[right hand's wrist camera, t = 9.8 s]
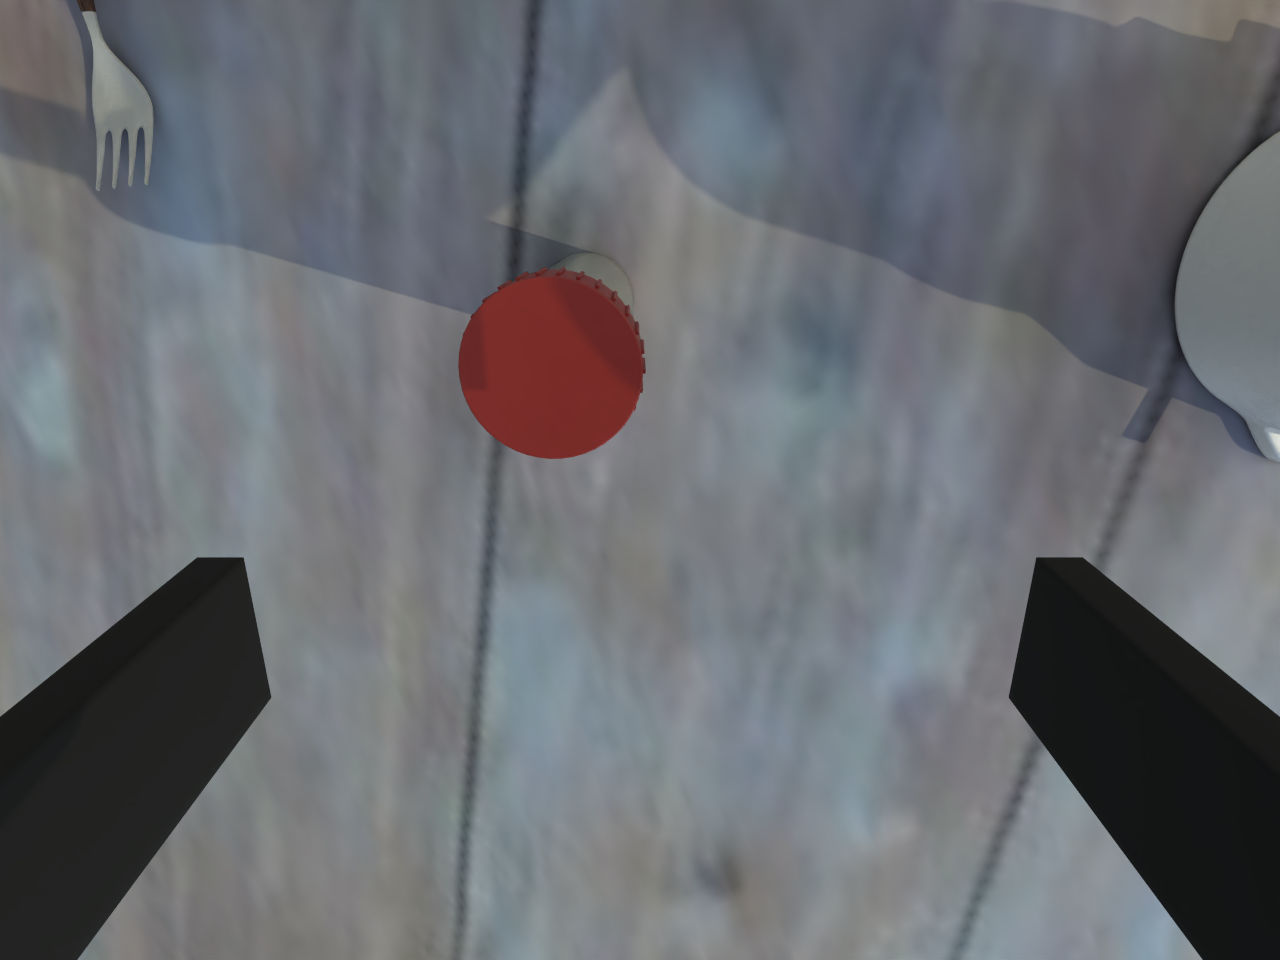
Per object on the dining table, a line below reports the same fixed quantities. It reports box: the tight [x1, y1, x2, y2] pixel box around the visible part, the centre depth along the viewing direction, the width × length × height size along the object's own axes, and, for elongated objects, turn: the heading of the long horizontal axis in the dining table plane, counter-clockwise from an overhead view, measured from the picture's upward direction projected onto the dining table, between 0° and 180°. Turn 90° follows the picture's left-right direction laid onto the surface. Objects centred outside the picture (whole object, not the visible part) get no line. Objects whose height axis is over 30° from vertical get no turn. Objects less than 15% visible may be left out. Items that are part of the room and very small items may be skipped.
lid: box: [459, 267, 646, 459], centre depth 22 cm, size 5×5×2 cm
